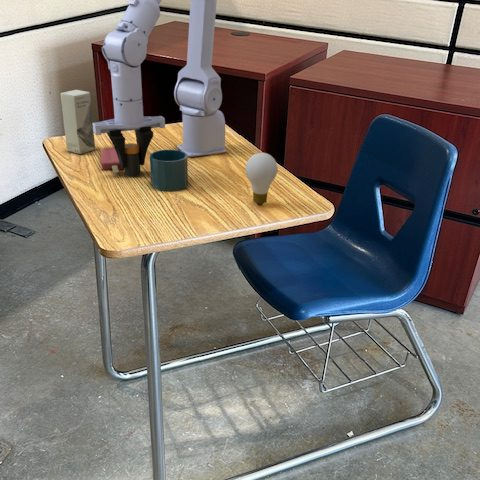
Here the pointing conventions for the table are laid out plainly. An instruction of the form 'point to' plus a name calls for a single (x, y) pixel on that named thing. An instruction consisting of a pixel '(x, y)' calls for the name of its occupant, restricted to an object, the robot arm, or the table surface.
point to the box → (78, 121)
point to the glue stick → (132, 160)
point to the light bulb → (261, 175)
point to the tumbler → (169, 170)
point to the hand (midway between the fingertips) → (132, 165)
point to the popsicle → (110, 160)
